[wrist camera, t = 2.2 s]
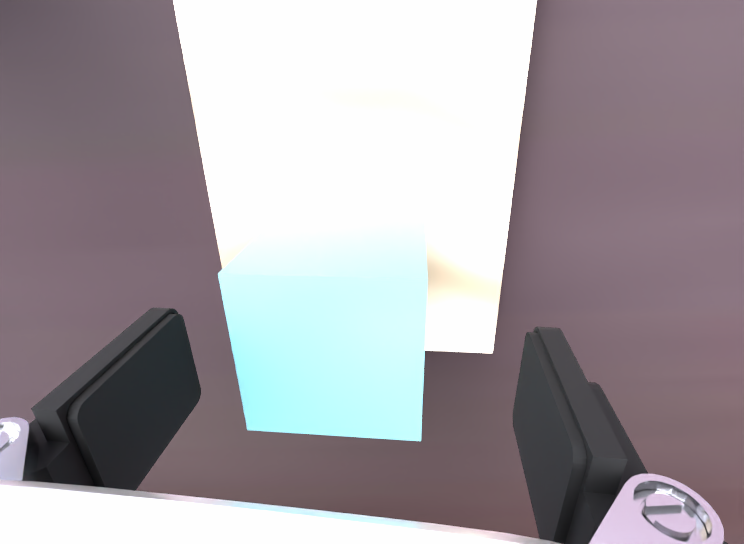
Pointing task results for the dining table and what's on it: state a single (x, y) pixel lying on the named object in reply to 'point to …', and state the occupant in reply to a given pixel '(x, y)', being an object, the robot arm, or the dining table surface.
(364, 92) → the base board
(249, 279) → the pale aqua block
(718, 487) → the dining table surface
